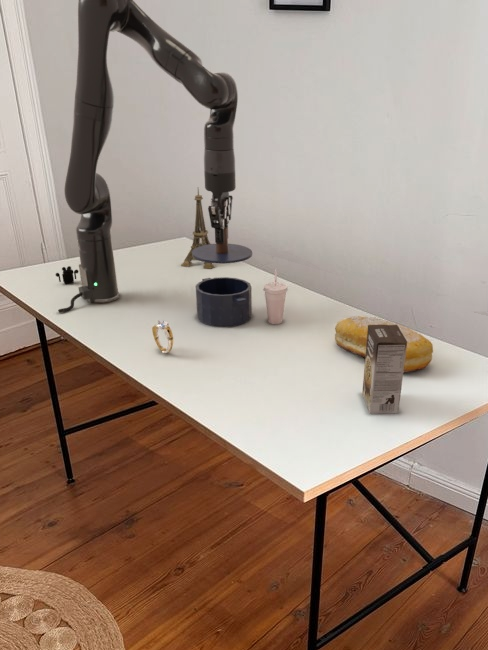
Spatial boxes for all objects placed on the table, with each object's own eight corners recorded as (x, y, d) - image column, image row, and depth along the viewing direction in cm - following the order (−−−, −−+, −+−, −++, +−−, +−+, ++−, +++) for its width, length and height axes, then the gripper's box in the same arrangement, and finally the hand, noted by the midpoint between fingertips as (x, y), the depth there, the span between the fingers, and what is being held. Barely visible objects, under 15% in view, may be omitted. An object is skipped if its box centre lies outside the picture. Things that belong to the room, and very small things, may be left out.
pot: (218, 334, 176) (217, 302, 171) (184, 310, 190) (181, 280, 185) (266, 323, 183) (266, 292, 178) (229, 300, 196) (229, 271, 192)
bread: (407, 382, 155) (411, 349, 150) (321, 347, 170) (323, 316, 166) (441, 364, 163) (446, 333, 158) (356, 332, 178) (359, 303, 174)
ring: (177, 355, 165) (174, 324, 160) (165, 359, 163) (162, 327, 159) (163, 346, 170) (160, 315, 165) (151, 349, 168) (148, 318, 163)
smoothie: (288, 317, 186) (289, 266, 178) (285, 326, 181) (286, 274, 173) (264, 316, 187) (264, 265, 179) (261, 325, 182) (261, 273, 174)
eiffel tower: (180, 265, 223) (175, 183, 208) (192, 256, 231) (188, 177, 217) (211, 269, 220) (207, 186, 206) (222, 259, 229) (219, 179, 214)
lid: (209, 269, 168) (208, 239, 164) (181, 253, 179) (180, 224, 175) (263, 260, 175) (263, 231, 171) (233, 244, 186) (233, 217, 182)
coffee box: (360, 394, 150) (367, 324, 141) (389, 393, 150) (397, 323, 141) (368, 414, 142) (375, 341, 133) (399, 413, 143) (408, 341, 134)
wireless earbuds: (79, 280, 210) (76, 264, 207) (82, 282, 208) (79, 266, 205) (56, 284, 206) (53, 267, 203) (59, 286, 205) (56, 270, 202)
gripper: (213, 162, 171) (215, 233, 181) (195, 173, 160) (199, 248, 170) (242, 164, 170) (243, 235, 180) (226, 175, 159) (228, 250, 169)
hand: (221, 241), depth 175 cm, fingers closed on lid, 3 cm apart
